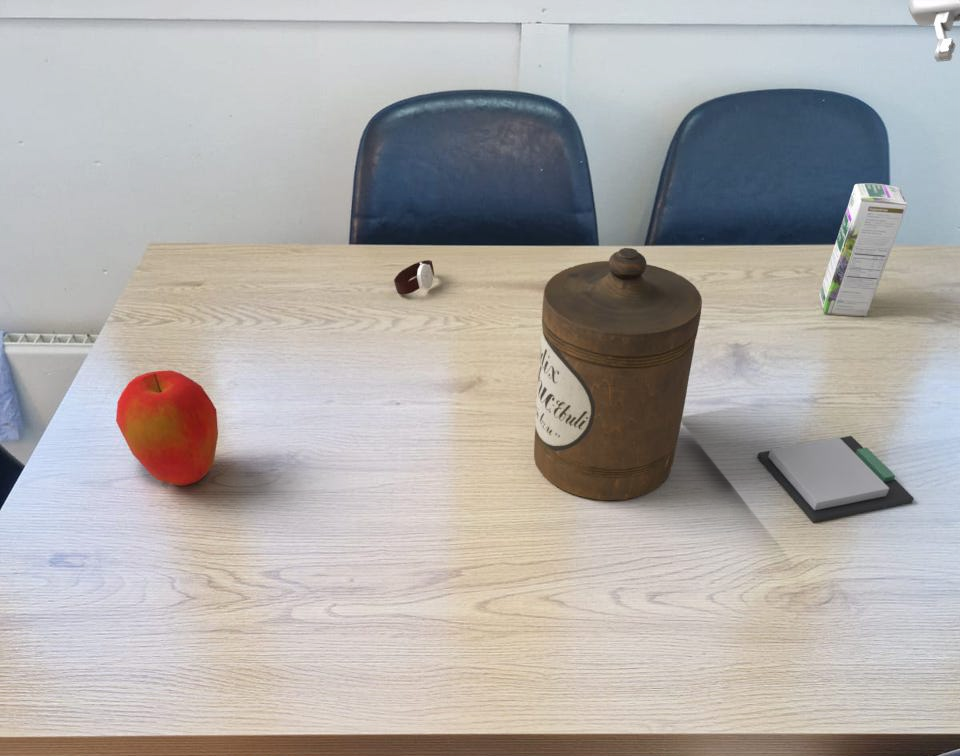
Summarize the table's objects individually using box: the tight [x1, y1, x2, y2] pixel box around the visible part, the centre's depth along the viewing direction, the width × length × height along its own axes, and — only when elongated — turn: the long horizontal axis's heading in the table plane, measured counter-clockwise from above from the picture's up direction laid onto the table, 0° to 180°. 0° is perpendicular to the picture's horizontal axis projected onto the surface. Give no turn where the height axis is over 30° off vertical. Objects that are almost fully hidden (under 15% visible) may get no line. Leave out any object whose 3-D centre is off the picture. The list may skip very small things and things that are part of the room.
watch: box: [393, 259, 435, 296], centre depth 117 cm, size 8×5×4 cm, turn 155°
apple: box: [115, 369, 219, 486], centre depth 85 cm, size 9×9×12 cm
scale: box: [757, 435, 915, 524], centre depth 87 cm, size 11×11×3 cm
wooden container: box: [533, 247, 703, 501], centre depth 84 cm, size 15×15×22 cm
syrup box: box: [818, 183, 908, 317], centre depth 110 cm, size 6×6×14 cm
